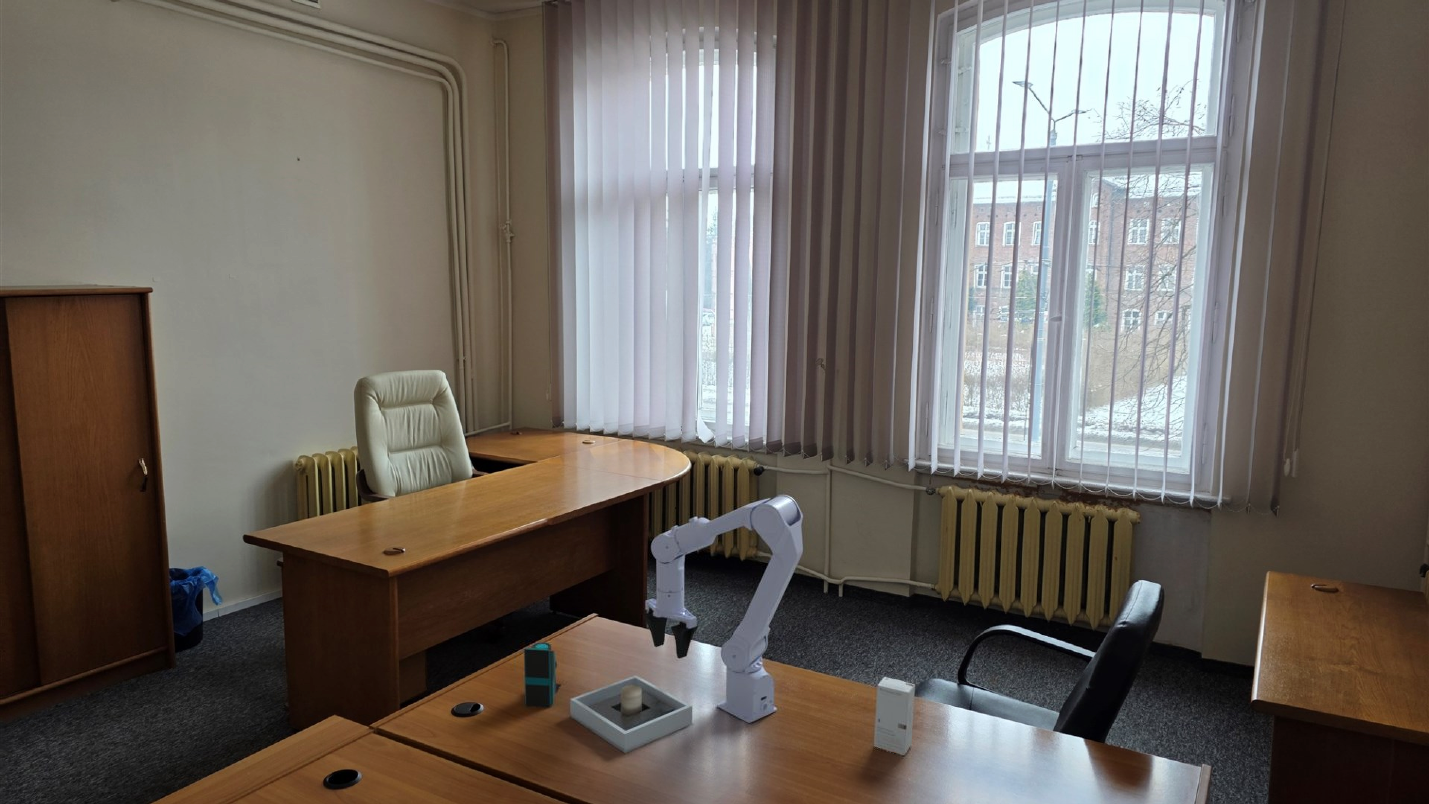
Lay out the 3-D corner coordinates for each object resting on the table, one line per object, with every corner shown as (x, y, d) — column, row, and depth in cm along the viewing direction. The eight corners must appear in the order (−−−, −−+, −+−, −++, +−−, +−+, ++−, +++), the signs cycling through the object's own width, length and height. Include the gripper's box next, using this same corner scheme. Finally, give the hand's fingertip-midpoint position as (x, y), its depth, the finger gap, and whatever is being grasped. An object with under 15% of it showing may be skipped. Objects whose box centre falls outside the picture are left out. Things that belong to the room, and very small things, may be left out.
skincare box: (873, 748, 152) (874, 685, 151) (880, 737, 156) (882, 675, 155) (906, 757, 149) (908, 693, 148) (913, 746, 153) (915, 683, 152)
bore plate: (674, 718, 162) (674, 708, 161) (624, 739, 154) (623, 729, 153) (637, 696, 170) (636, 687, 170) (587, 715, 162) (587, 706, 162)
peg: (645, 717, 162) (645, 690, 161) (629, 724, 159) (629, 696, 159) (632, 709, 165) (632, 683, 164) (616, 716, 162) (616, 689, 161)
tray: (692, 723, 161) (692, 706, 160) (624, 753, 150) (624, 734, 150) (636, 691, 174) (635, 675, 174) (570, 716, 163) (570, 699, 163)
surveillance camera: (565, 631, 175) (550, 650, 166) (566, 685, 177) (551, 708, 167) (539, 629, 176) (522, 649, 166) (540, 684, 177) (524, 706, 168)
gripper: (633, 583, 175) (634, 645, 177) (677, 602, 165) (677, 667, 166) (660, 576, 180) (660, 637, 182) (704, 593, 169) (704, 657, 171)
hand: (670, 651), depth 174 cm, fingers open, 7 cm apart
